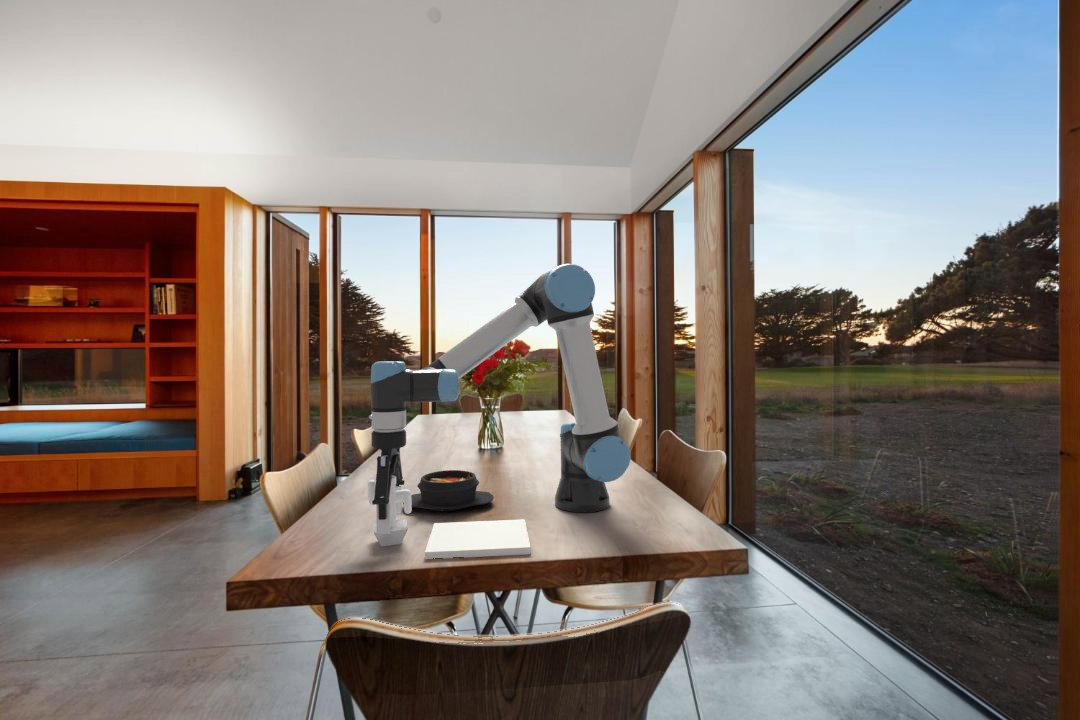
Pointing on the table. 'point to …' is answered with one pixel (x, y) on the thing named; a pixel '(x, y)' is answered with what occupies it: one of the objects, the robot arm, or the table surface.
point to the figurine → (392, 513)
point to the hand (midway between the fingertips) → (389, 522)
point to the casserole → (449, 491)
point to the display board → (478, 539)
